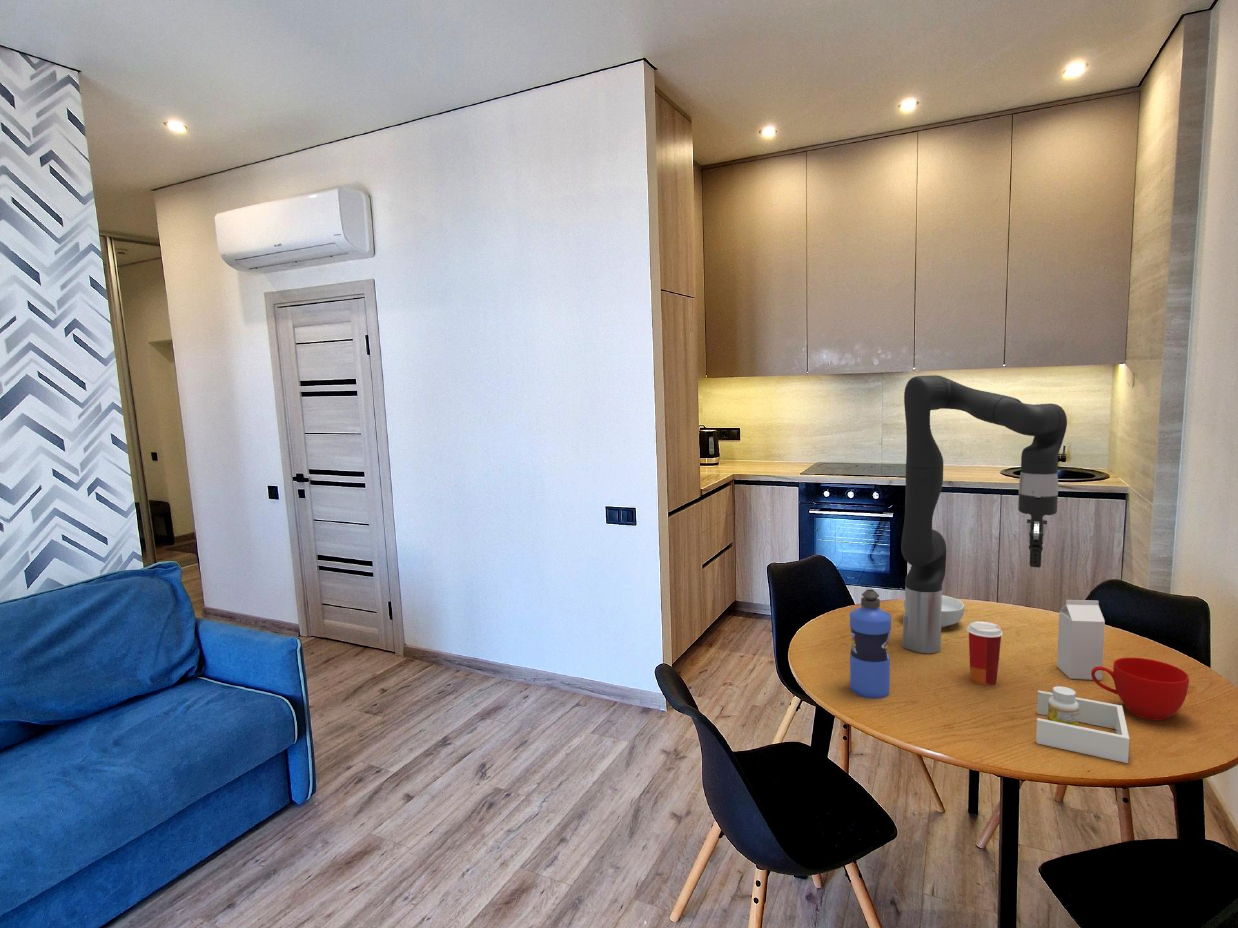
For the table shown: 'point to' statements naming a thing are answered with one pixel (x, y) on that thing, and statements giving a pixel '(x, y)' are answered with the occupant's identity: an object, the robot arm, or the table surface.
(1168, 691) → the ceramic cup
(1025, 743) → the table surface
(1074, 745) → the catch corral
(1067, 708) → the supplement bottle
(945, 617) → the cereal bowl
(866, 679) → the water bottle
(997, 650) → the paper cup
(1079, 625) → the milk carton
